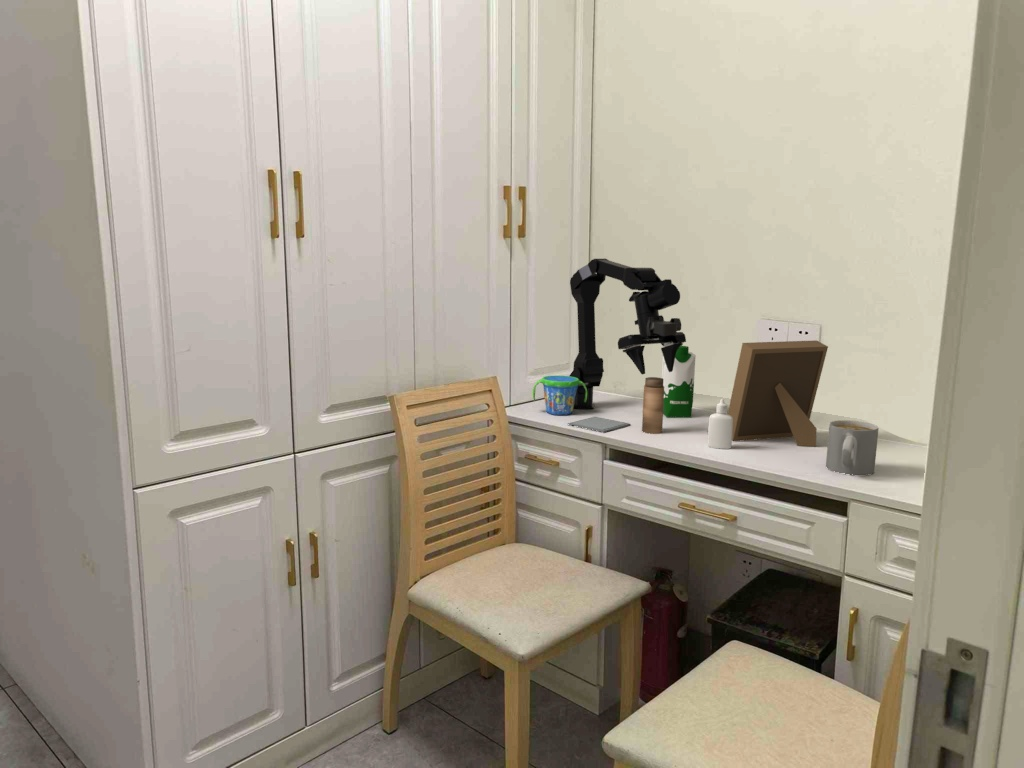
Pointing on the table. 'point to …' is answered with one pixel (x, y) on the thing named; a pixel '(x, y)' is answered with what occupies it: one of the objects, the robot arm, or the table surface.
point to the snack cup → (559, 393)
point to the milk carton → (679, 384)
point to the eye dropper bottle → (720, 428)
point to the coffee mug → (852, 447)
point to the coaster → (599, 424)
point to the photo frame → (776, 390)
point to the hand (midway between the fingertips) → (657, 372)
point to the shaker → (653, 405)
